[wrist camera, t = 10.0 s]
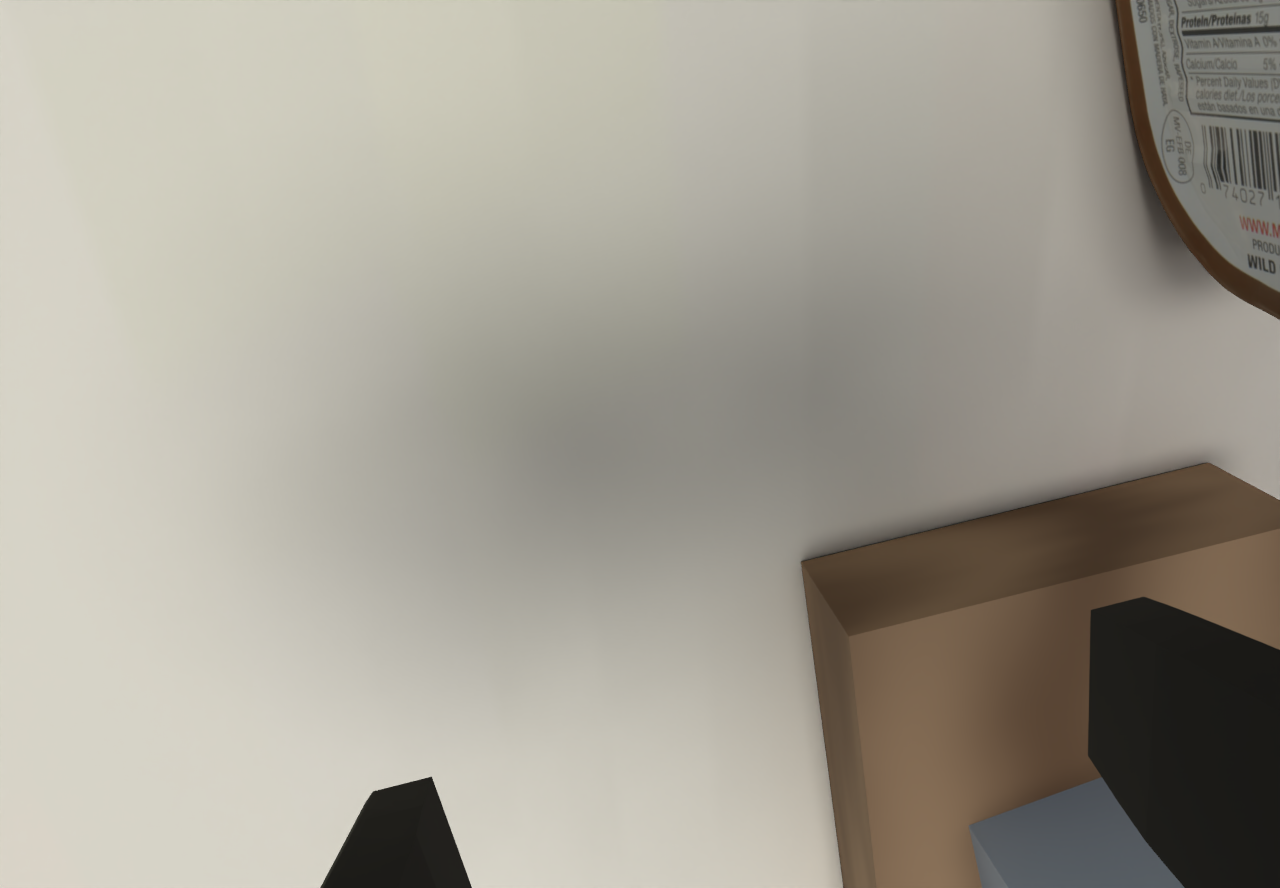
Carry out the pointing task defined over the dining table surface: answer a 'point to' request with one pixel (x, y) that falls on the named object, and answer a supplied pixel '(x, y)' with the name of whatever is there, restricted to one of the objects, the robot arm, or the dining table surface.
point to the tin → (1212, 130)
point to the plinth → (1006, 654)
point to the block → (1067, 845)
